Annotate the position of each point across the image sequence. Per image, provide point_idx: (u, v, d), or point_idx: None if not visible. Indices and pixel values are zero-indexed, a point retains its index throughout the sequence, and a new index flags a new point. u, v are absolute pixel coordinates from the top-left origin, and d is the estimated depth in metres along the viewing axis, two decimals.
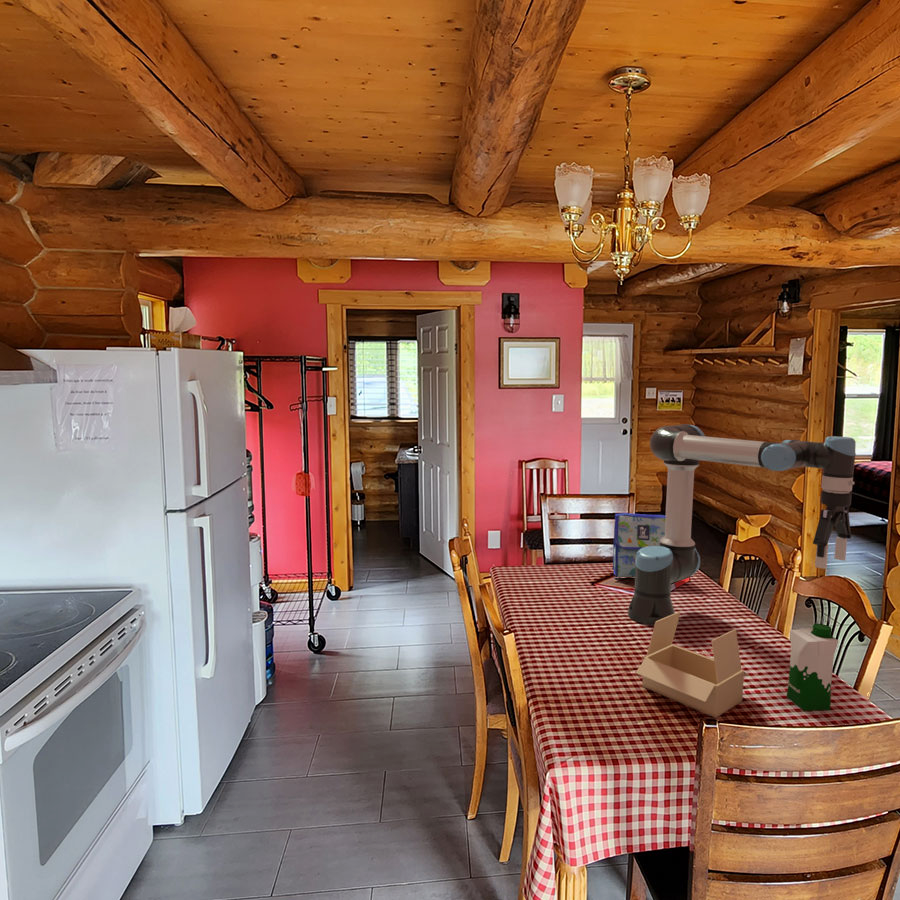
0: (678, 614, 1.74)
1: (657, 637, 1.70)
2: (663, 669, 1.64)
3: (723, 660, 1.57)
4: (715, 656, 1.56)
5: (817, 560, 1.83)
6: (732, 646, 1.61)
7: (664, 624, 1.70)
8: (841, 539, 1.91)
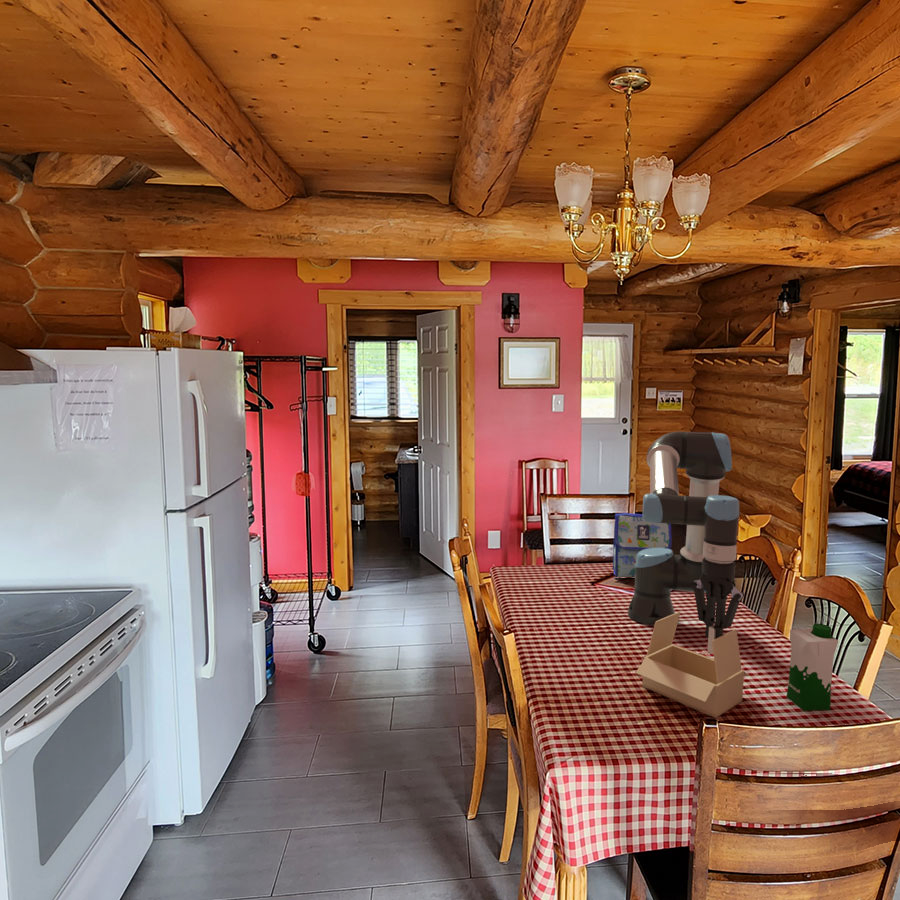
0: (678, 614, 1.74)
1: (657, 637, 1.70)
2: (663, 669, 1.64)
3: (723, 660, 1.57)
4: (716, 656, 1.56)
5: None
6: (732, 646, 1.61)
7: (664, 624, 1.70)
8: None
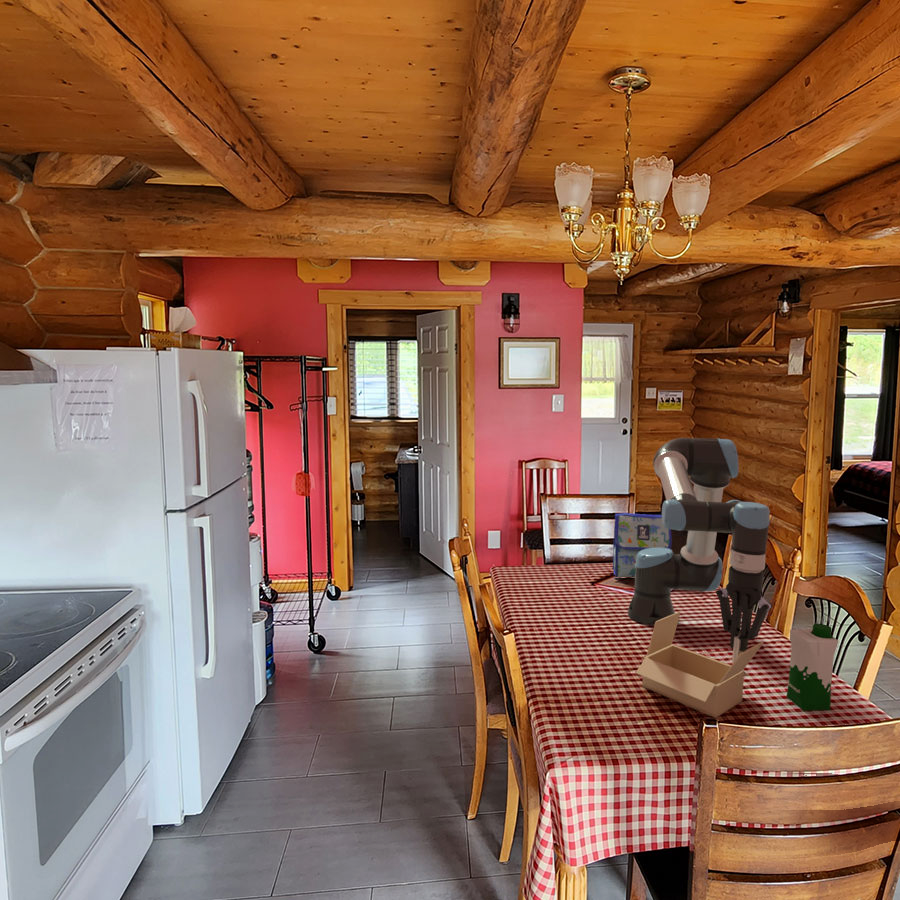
0: (678, 614, 1.74)
1: (657, 637, 1.70)
2: (663, 669, 1.64)
3: (736, 666, 1.55)
4: (733, 665, 1.52)
5: None
6: (750, 655, 1.57)
7: (664, 624, 1.70)
8: None
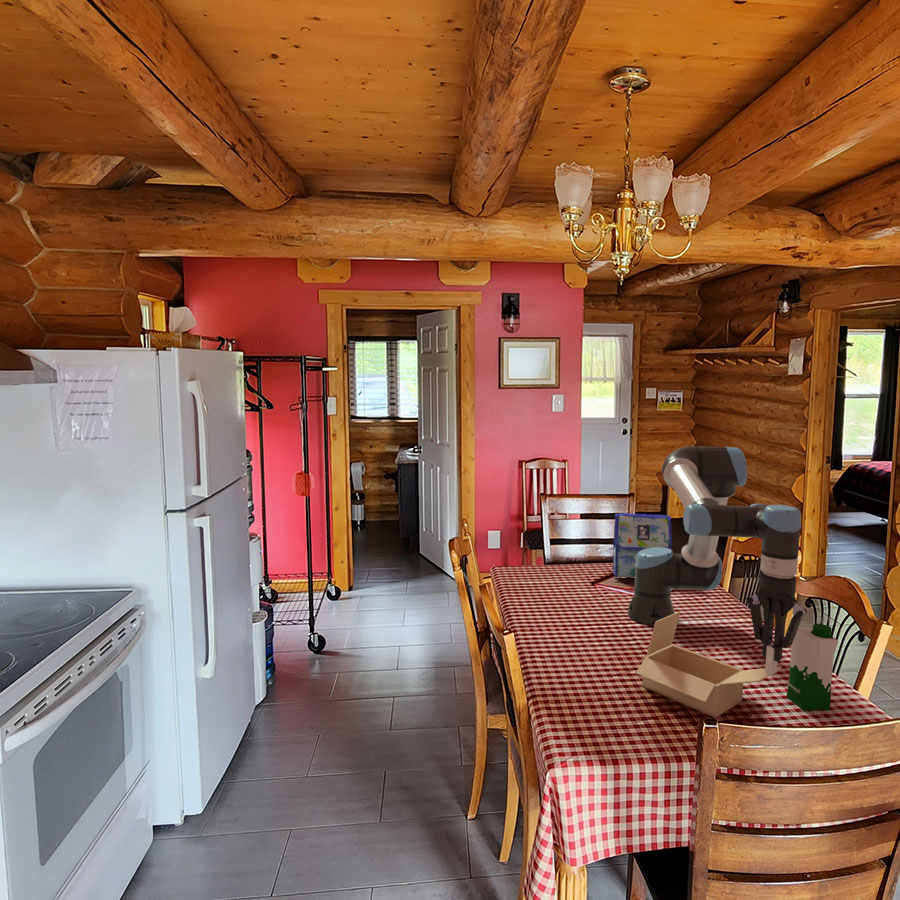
0: (678, 614, 1.74)
1: (657, 637, 1.70)
2: (663, 669, 1.64)
3: None
4: (745, 682, 1.50)
5: None
6: None
7: (664, 624, 1.70)
8: None
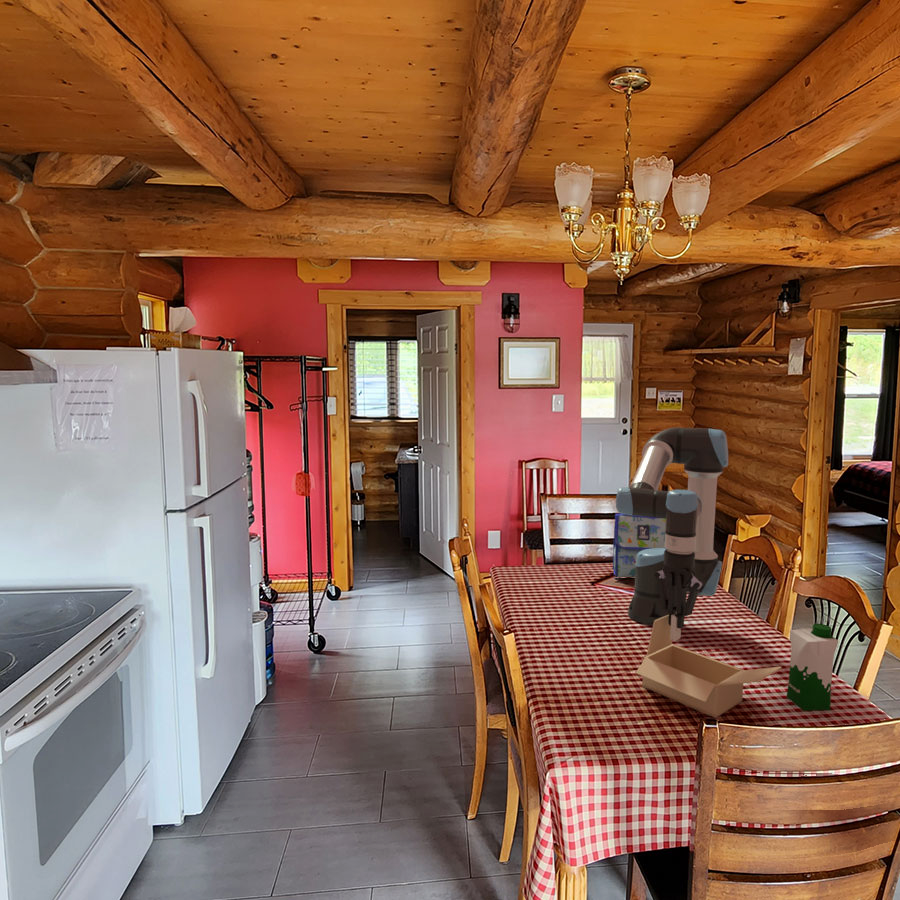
0: None
1: (656, 637, 1.70)
2: (663, 669, 1.64)
3: None
4: (745, 682, 1.50)
5: None
6: None
7: (663, 623, 1.71)
8: None
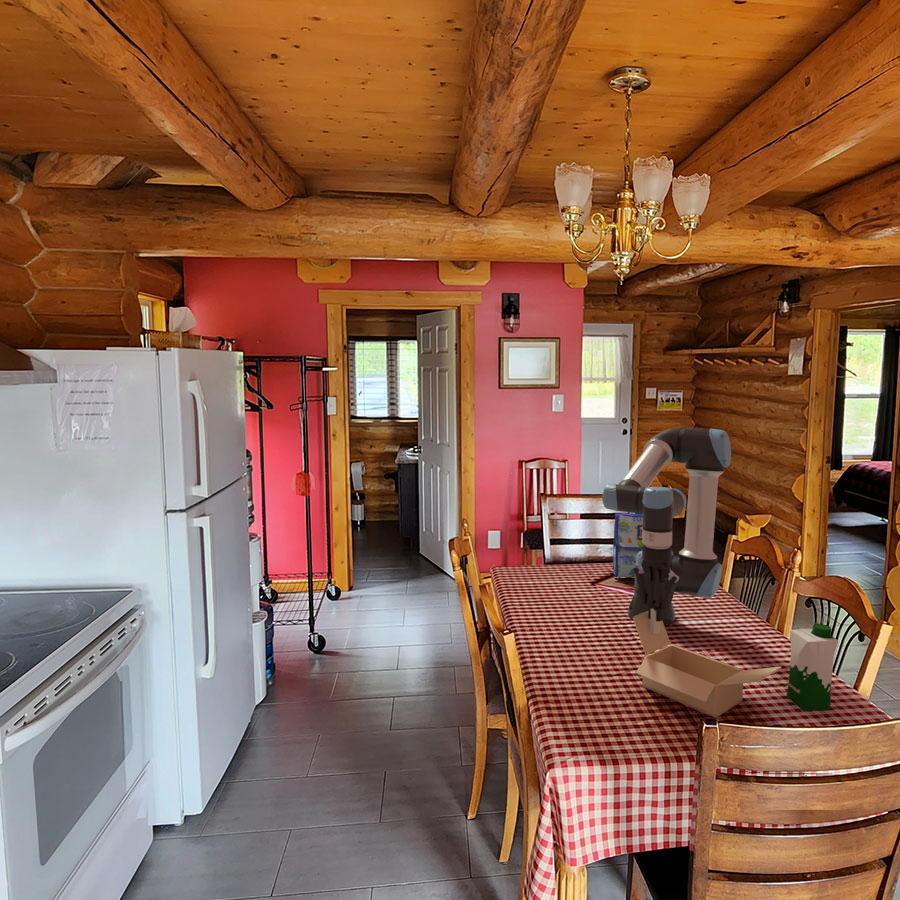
0: None
1: (646, 634, 1.73)
2: (663, 669, 1.64)
3: None
4: (745, 682, 1.50)
5: None
6: None
7: (645, 620, 1.75)
8: None
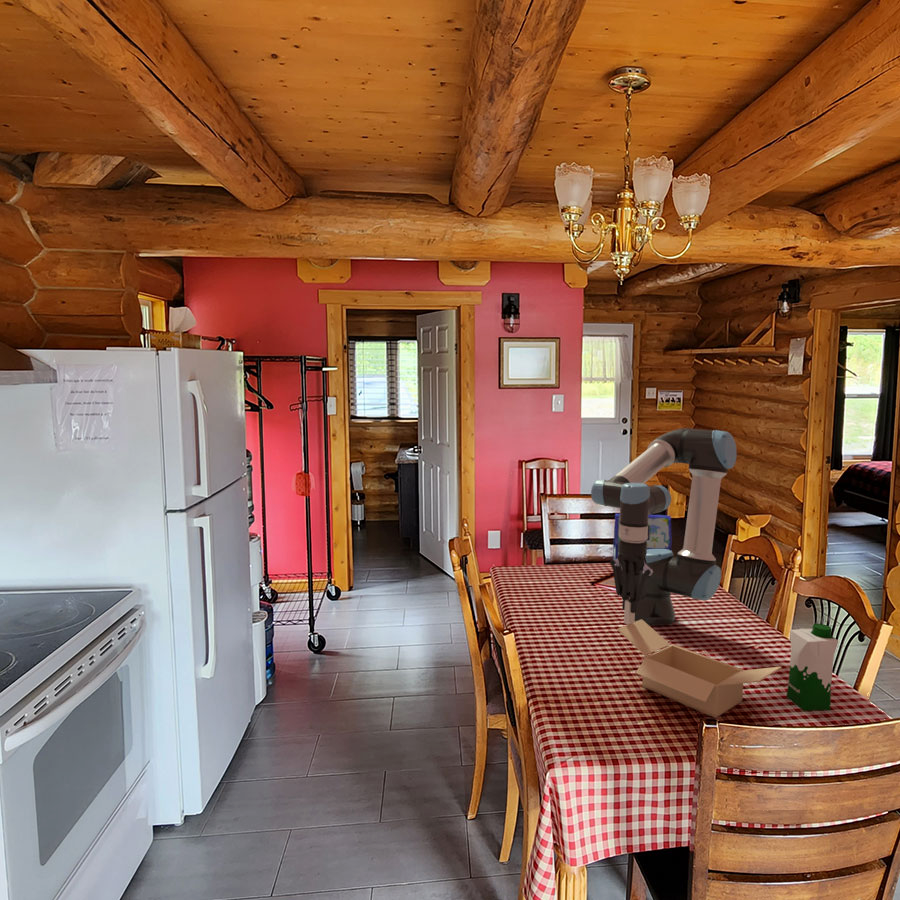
0: (641, 621, 1.83)
1: (637, 640, 1.75)
2: (663, 669, 1.64)
3: None
4: (745, 682, 1.50)
5: None
6: None
7: (632, 629, 1.78)
8: None
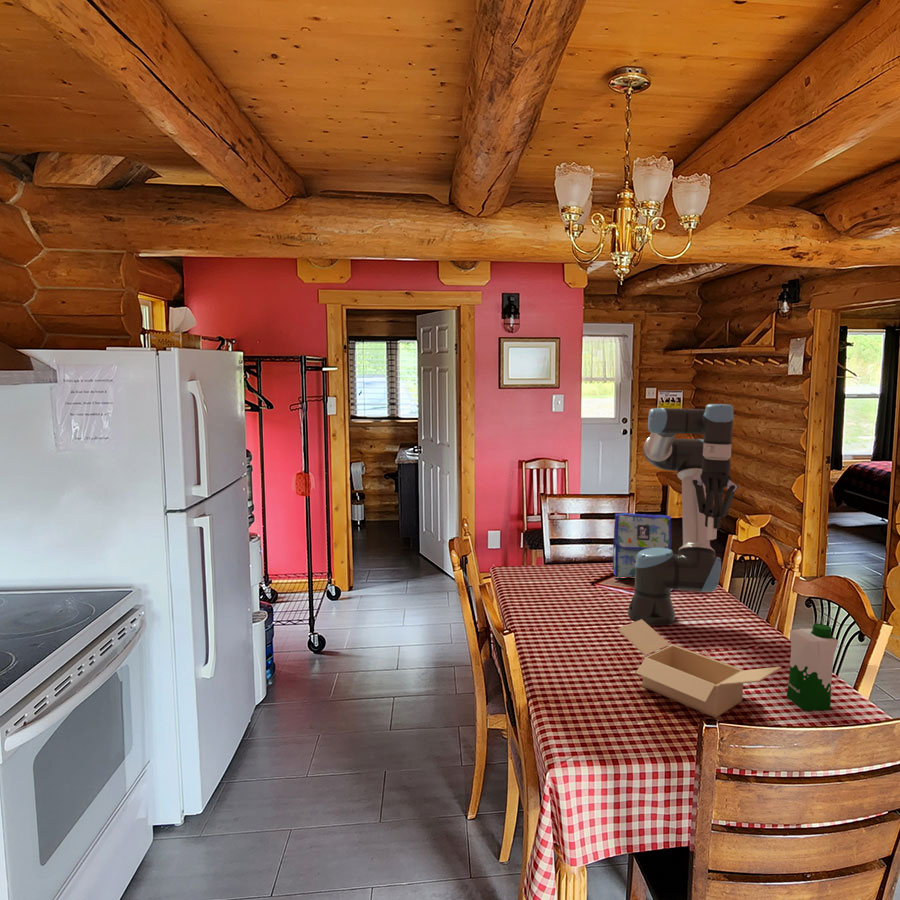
0: (641, 621, 1.83)
1: (637, 640, 1.75)
2: (663, 669, 1.64)
3: None
4: (745, 682, 1.50)
5: None
6: None
7: (632, 629, 1.78)
8: None
